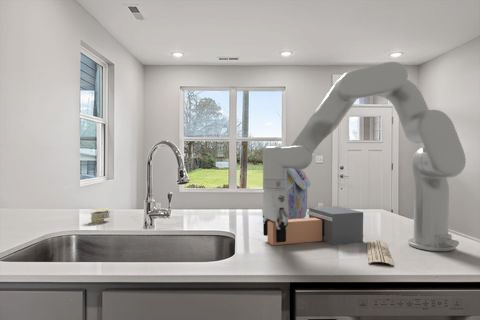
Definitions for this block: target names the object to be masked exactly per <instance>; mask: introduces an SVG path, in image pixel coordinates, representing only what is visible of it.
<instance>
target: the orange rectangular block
mask: <svg viewBox="0 0 480 320" xmlns="http://www.w3.org/2000/svg"><path fill="white" fill-rule="evenodd" d="M279 224H281V222H280V223H279ZM276 229H277V226H276V222H274V221H268V236H267V243H268V244H270V245H271V246H279V245H281V246H282V245H289V244H291V245H292V244H301V243H311V242H322V241H323V237H322V219H319V218H309V217H304V218H302V219H289V220H288V225H287V229H286V242H279V243H277V242H276Z"/></svg>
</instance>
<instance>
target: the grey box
mask: <svg viewBox="0 0 480 320" xmlns="http://www.w3.org/2000/svg"><path fill="white" fill-rule="evenodd" d="M307 215H308V218H319V219H322V238H323V242H325V243H326V244H330V245H341V244H351V243H361V242H363V243H364V212H363V211H359V210H354V209H351V208H346V207H342V206H337V205H335V206H318V207H317V206H316V207H309V208H308V211H307Z"/></svg>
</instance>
